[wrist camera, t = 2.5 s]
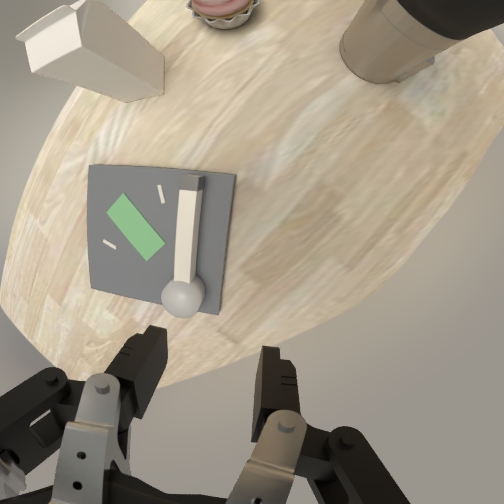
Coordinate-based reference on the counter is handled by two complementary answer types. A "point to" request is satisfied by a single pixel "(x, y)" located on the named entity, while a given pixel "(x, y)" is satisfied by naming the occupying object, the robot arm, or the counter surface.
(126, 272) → the board
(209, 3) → the cupcake
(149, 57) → the milk
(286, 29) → the counter surface
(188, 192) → the tuning lever
